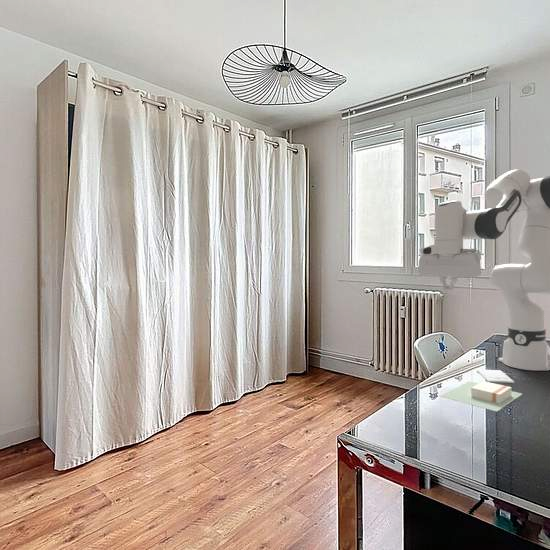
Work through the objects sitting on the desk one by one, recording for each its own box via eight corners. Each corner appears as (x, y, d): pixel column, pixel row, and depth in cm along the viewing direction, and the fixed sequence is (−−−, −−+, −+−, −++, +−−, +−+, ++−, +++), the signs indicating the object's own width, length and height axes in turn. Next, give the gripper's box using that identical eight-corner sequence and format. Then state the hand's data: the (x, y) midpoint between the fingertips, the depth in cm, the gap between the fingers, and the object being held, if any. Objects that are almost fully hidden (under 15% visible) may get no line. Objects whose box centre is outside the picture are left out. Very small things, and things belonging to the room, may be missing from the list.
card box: (483, 380, 124) (511, 387, 118) (483, 389, 124) (511, 395, 118) (471, 387, 118) (499, 394, 112) (471, 396, 119) (499, 403, 112)
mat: (469, 382, 132) (469, 381, 132) (522, 394, 120) (522, 393, 120) (440, 397, 119) (440, 395, 119) (497, 412, 107) (497, 411, 107)
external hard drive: (501, 374, 142) (515, 386, 130) (476, 373, 143) (488, 384, 131) (501, 370, 142) (515, 381, 130) (476, 369, 143) (488, 380, 131)
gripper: (484, 248, 126) (484, 291, 127) (425, 249, 142) (425, 287, 143) (476, 248, 122) (476, 292, 123) (416, 249, 138) (416, 288, 139)
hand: (448, 290), depth 133 cm, fingers closed
